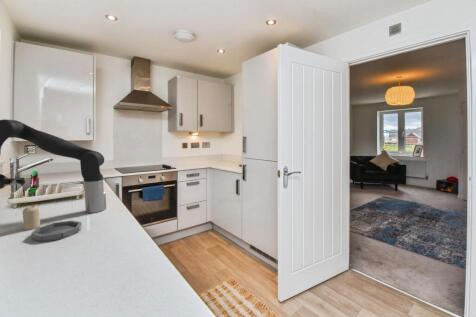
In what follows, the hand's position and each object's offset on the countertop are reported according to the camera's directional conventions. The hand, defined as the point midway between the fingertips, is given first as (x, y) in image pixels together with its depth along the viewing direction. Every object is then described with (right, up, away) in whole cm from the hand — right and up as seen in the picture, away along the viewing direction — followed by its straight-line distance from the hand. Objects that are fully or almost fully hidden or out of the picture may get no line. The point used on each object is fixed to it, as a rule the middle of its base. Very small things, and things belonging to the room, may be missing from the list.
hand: (12, 183), depth 109 cm
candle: (+11, -20, -2) cm, 23 cm away
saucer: (+28, -20, -9) cm, 36 cm away
